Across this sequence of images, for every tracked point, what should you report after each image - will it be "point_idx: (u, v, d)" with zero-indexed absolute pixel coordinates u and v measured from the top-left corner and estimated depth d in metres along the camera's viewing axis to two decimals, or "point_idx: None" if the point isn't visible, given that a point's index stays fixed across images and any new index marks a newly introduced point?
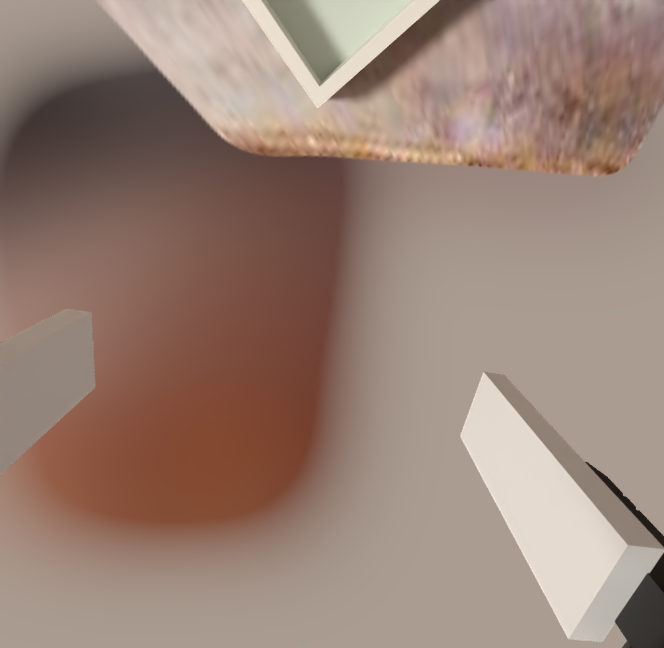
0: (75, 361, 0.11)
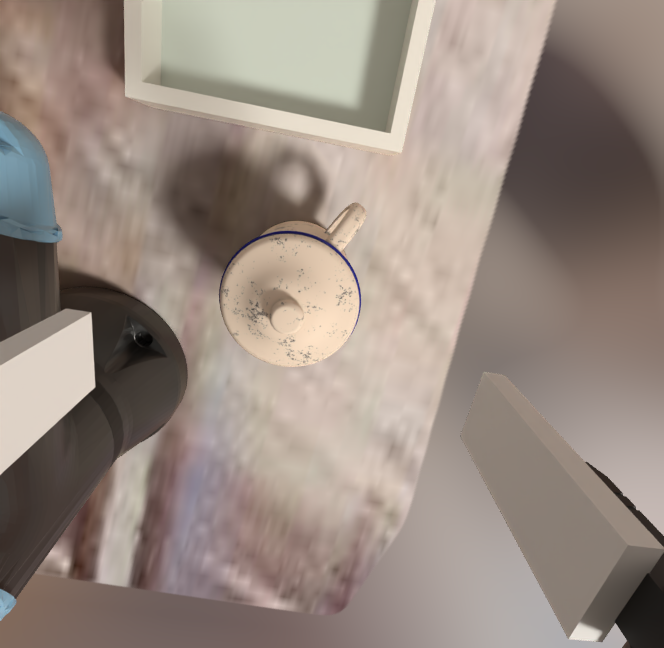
0: (75, 361, 0.11)
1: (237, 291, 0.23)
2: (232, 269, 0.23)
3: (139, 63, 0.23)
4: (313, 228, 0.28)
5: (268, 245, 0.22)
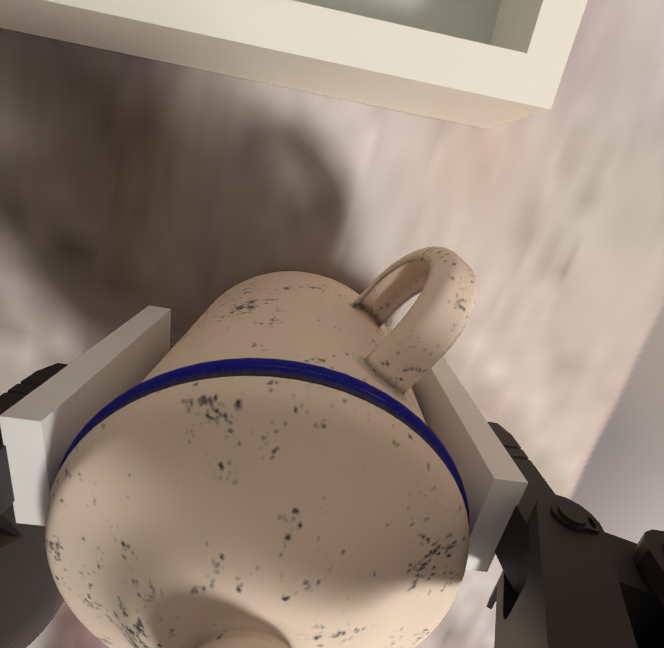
0: (159, 352, 0.13)
1: (85, 556, 0.07)
2: (64, 489, 0.07)
3: None
4: (327, 300, 0.12)
5: (177, 423, 0.06)
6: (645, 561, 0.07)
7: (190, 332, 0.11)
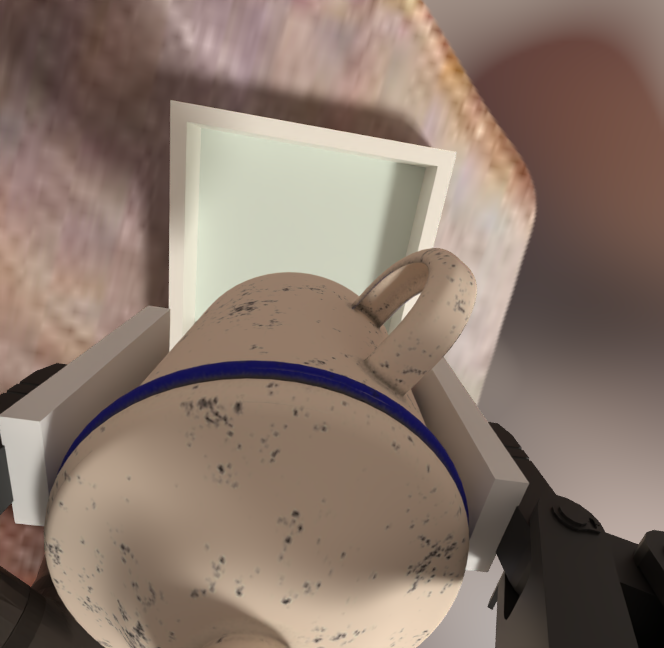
0: (159, 352, 0.13)
1: (84, 559, 0.07)
2: (64, 493, 0.07)
3: None
4: (326, 301, 0.12)
5: (176, 426, 0.06)
6: (646, 562, 0.07)
7: (189, 334, 0.11)
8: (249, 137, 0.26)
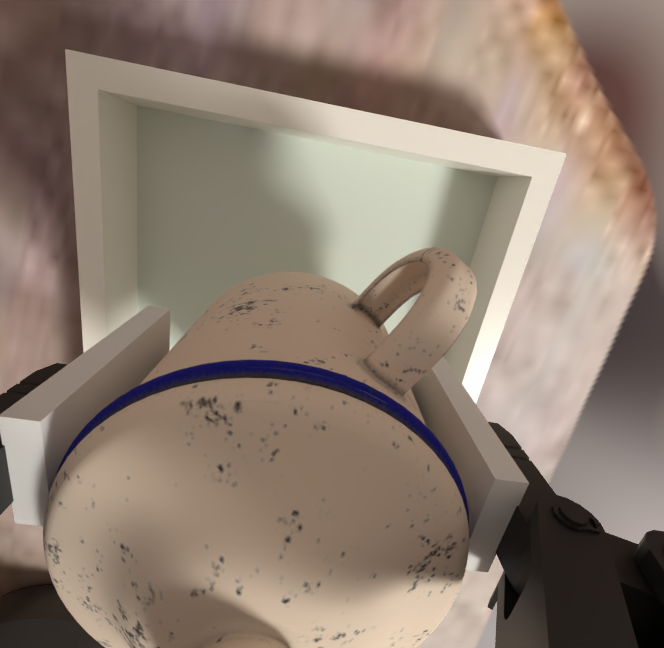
0: (159, 352, 0.13)
1: (84, 559, 0.07)
2: (63, 492, 0.07)
3: None
4: (326, 301, 0.12)
5: (176, 425, 0.06)
6: (646, 561, 0.07)
7: (189, 333, 0.11)
8: (216, 123, 0.16)
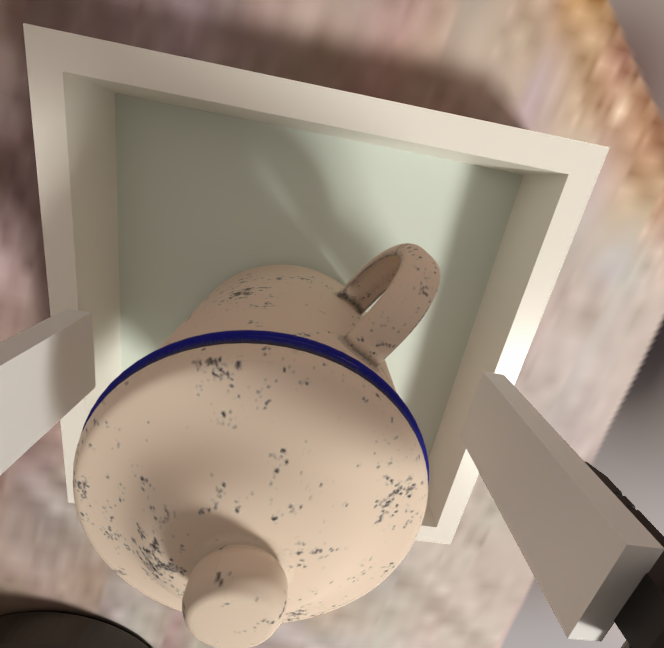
0: (76, 361, 0.11)
1: (108, 492, 0.08)
2: (93, 436, 0.08)
3: None
4: (314, 289, 0.13)
5: (188, 379, 0.08)
6: None
7: (193, 314, 0.12)
8: (205, 113, 0.14)
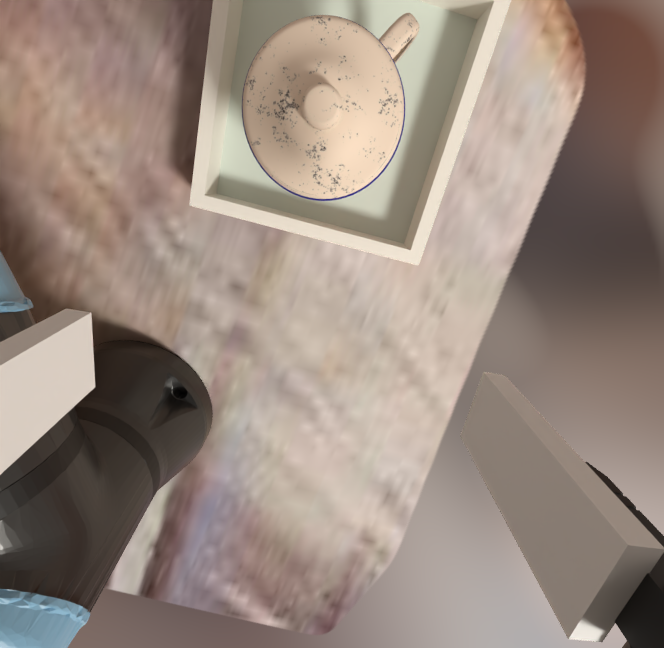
0: (75, 361, 0.11)
1: (265, 81, 0.20)
2: (262, 53, 0.19)
3: (204, 181, 0.28)
4: None
5: (308, 24, 0.19)
6: None
7: None
8: None
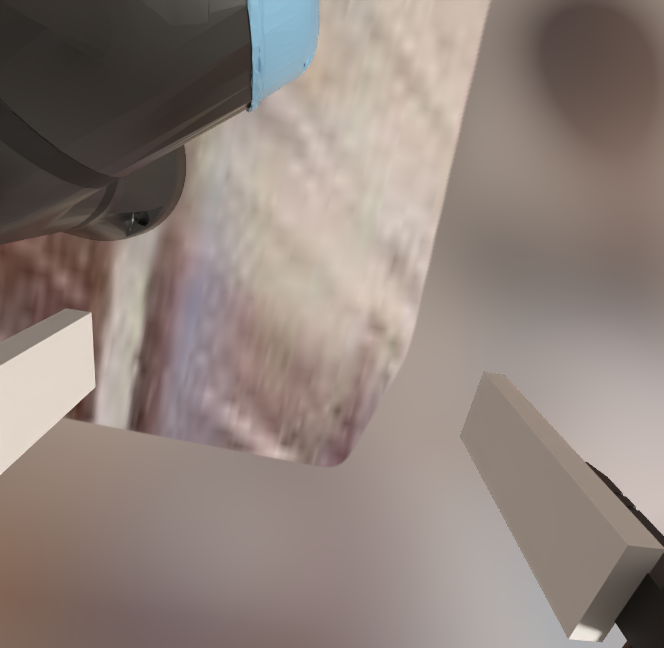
0: (75, 361, 0.11)
1: None
2: None
3: None
4: None
5: None
6: None
7: None
8: None
